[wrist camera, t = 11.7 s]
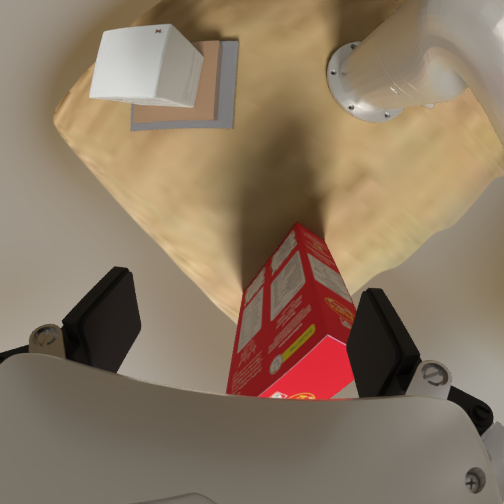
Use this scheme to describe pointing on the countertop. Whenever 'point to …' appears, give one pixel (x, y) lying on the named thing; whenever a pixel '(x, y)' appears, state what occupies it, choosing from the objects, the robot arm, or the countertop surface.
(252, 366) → the food packaging
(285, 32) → the countertop surface
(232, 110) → the pedestal
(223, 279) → the countertop surface
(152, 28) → the supplement box
